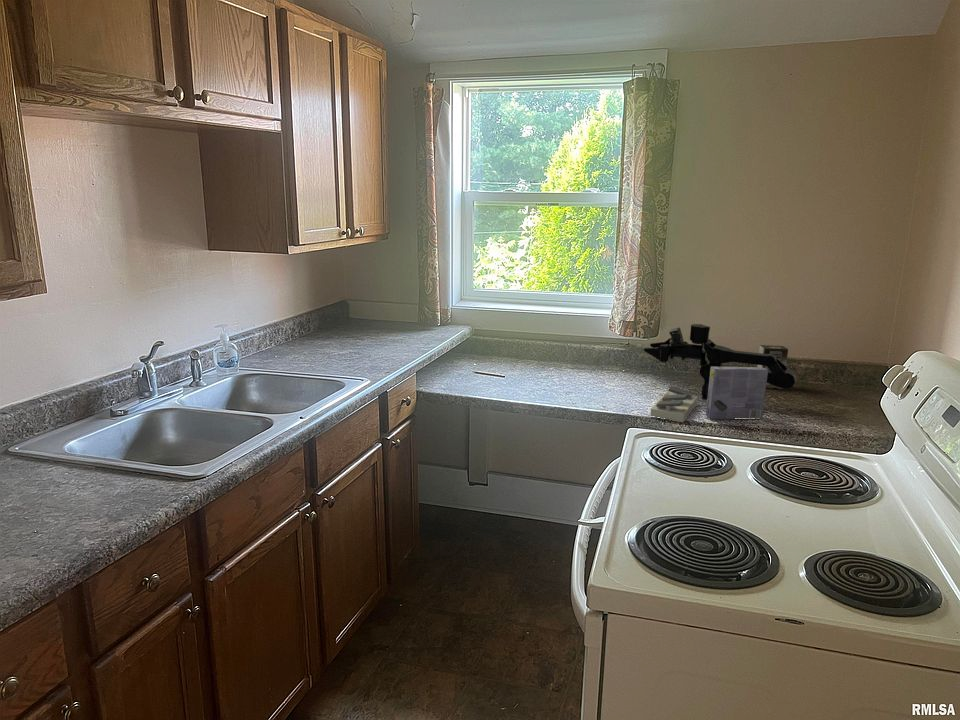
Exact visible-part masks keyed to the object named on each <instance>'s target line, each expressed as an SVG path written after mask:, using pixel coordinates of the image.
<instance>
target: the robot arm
mask: <svg viewBox="0 0 960 720" xmlns="http://www.w3.org/2000/svg"><path fill="white" fill-rule="evenodd" d="M710 331H711V326H709V325H705V324H701V323H693V324H690V333H689V341H691V343H689V342H688V341H684V337H683V333H682V331H681V327H680V326H679V327H675V328H672V329H670V330H669V331H668V332H669V333H668V334H669V336H670V337H669V338H668V339H667V340H666V341H661V342H653V343H652V342H651V343H650V345H649V346H650V347H645V348H643V352H645V353H647V354H648V355H650V356H652V357H654V358H655V359H657V360H658V362H660V363H665V364H666V363H667V362H668V361H669V360H670V359H671V360H673V359H681V361H685V360H691V361H692V360H694V361H699V366H700V368H699V375H700V377H702V379H703V381H704V382H703V384H702V386H701V399H703V400H707V398H708V388H709V378H710V369H711V367H731V365H726V364H727V363H736V364H737V363H739V364H749V365H755V366H756V365H764V366H767V367H768V368H769V370H770V371H768V375H767V382H766V383H769V384H771V385H774V386H777V387H780V388H783V389H784V390H785V389H787V390H789V389H790V388H792V387H793V386H794V385H795V384H796V379H797V374H796V372H795V371H794V370H793V369H790V368H788V367H787V365H786V366H785V365H784V364H783V363H782V362H781V361H779V360H778V359H777V358H776V356H775V355H774V354H763V353H759V352H754V351H753V352H752V351H751V352H750V351H742V350H735V349H731V348H729V347H727V346H722V345H718V344H716V343H715V342H714V341H712V340H711V339H710Z"/></svg>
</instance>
